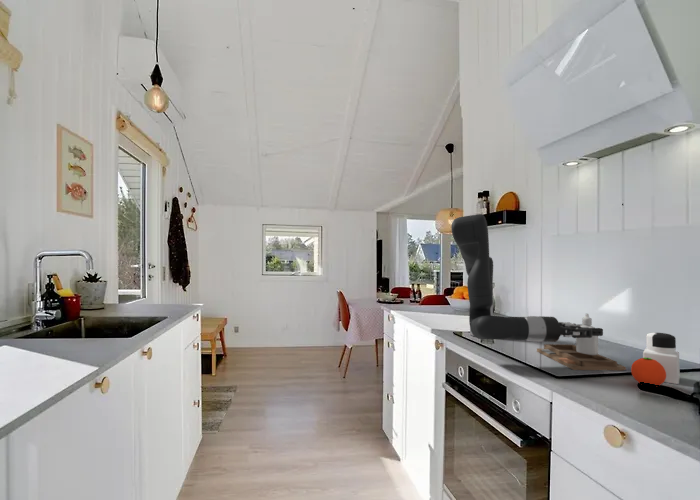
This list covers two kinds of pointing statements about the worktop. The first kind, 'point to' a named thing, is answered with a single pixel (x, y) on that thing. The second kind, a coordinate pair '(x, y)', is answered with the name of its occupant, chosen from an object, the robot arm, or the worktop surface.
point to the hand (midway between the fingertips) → (595, 330)
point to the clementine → (648, 371)
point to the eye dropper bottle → (587, 339)
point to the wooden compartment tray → (578, 358)
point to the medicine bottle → (664, 354)
